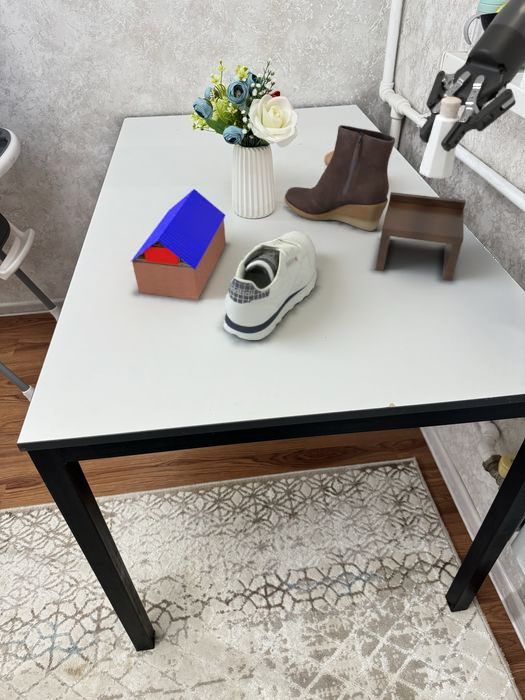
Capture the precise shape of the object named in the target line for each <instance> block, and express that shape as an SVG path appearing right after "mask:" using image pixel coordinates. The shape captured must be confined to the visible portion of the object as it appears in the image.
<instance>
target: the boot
mask: <svg viewBox="0 0 525 700" xmlns="http://www.w3.org/2000/svg"><path fill="white" fill-rule="evenodd" d="M395 143H396V138H395V137H393V136H391V135H389V134H387V133H384V132H382V131H378V130H377V131H376V130H371V129H367V128H361V127H355V126H350V125H345V124H344V125H343V124H341V125H340V124H339V125H338V127H337V135H336V140H335V144H334V149H333V151H334V153H333V156H332V158H331V160H330V162H329V164H328V166H327V168H326V169H325V171H324V170H323V173H322V174H321V176H320V178H319V179H318V181H317V183H316V184H315V186H313V187H311V188H309V187H302V186H292V187H289V188H288V189H287V190H286V193H285V194H284V202H285V204H286V206H287V207H288V208H289V209H290V210H291V211H293V213H296V214H297V215H299V216H300V217H303V218H305V219H308V220H312V221H329V220H330V221H338V222H342V223H345V224H348V225H351V226H353V227H355V228H357V229H360V230H362V231H367V232H372V231H375V230H376V229H377V227H378V225H379V223H380V221H381V218H382V215H383V213H384V211H385V208H386V206H388V203H389V198H388V195H389V191H390V189H389V188H390V183H389V175H388V169H389V161H390V157H391V155H392V152H393V149H394V145H395Z"/></svg>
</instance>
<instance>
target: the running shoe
mask: <svg viewBox="0 0 525 700" xmlns="http://www.w3.org/2000/svg"><path fill="white" fill-rule="evenodd" d="M316 262H317V253H316V247H315V244H314V242H313V240H312V238H311V237H310V236H309V235H308V234H307V233H305V232H302V231H298V230H295V231H290V232H287V233H285V234H283V235H281V236H280V237H277V238H274V239H272V240H269V241H266V242H265V241H263V242H261V243H259V244H257V245H255V246H254V247H253V249H251V250H250V251H249V252H248V253H247V254H246V255H245V256H244V257H243V259H242V260H241V262H239V264H238V266H237V269H236V273H235V276H233V278H232V279H231V281H230V284H229V286H228V291H227V292H226V295H225V299H224V309H225V316H224V320H223V323H222V324H223V328H224V330H225V331H226V332H228V333H229V334H231V335H235V336H237V337H238V338H240V339H242V340H249V341H256V340H257V341H259V340H262V339H264V338H266V337H267V336H268V335H270V333H272V332H273V331H274V330H275V329H276V326H277V324H279V323H281V321H282V318H283V317H284V316H285V315H286V314H287V313H288V312H289V311H291V310H292V309H294V306H295V305H297V303H298V304H299V303H301V302H302V301H303V300H304V299H305V297H308V296H309V295H310V294H311V291H312V290H314V288H315V286H316V281H317V278H318V276H317V265H316V264H317V263H316Z"/></svg>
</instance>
